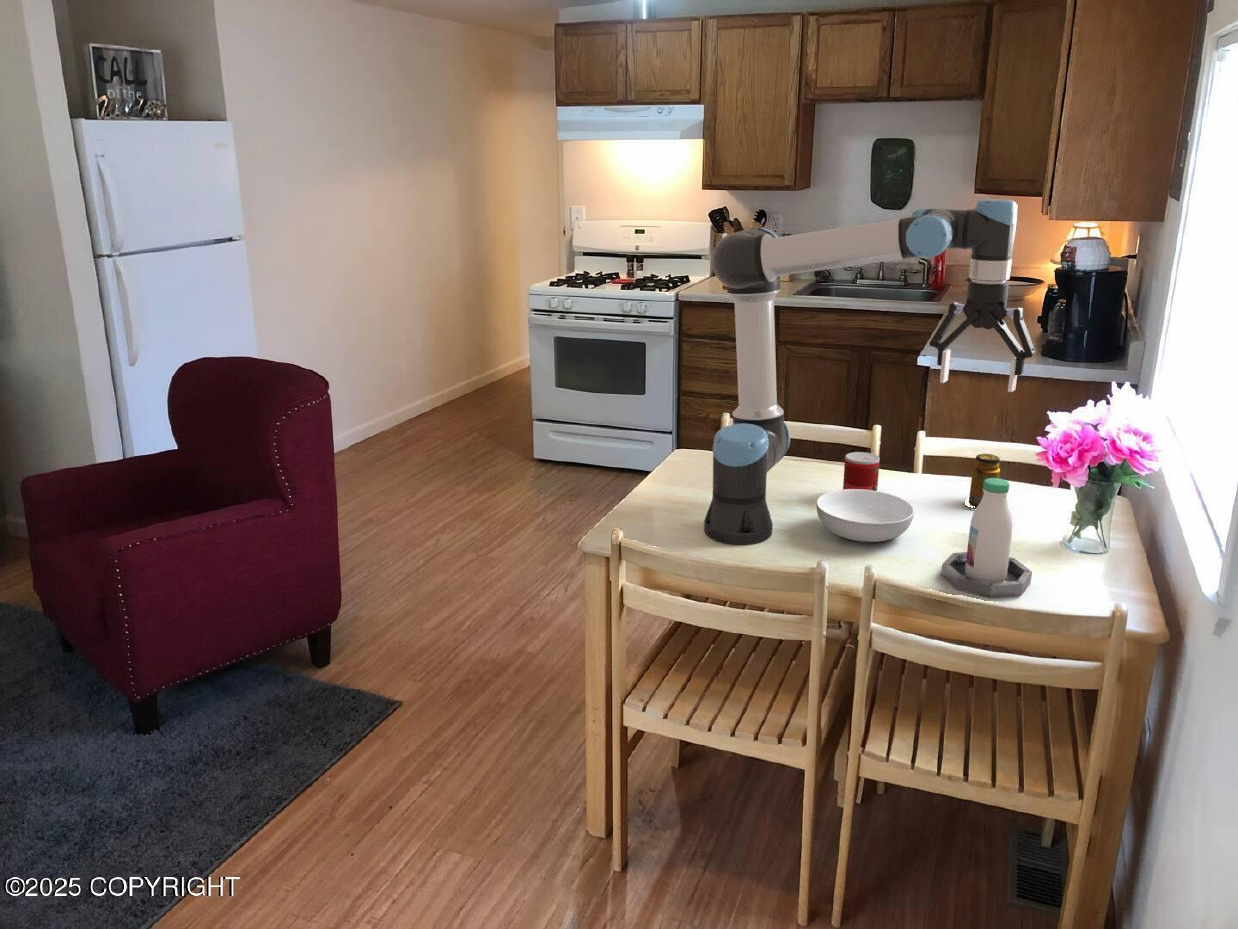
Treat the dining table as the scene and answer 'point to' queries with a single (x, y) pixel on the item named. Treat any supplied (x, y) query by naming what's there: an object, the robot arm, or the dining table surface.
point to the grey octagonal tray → (1011, 586)
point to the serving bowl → (864, 514)
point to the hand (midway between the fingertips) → (976, 386)
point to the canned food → (861, 471)
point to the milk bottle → (990, 534)
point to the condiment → (982, 476)
